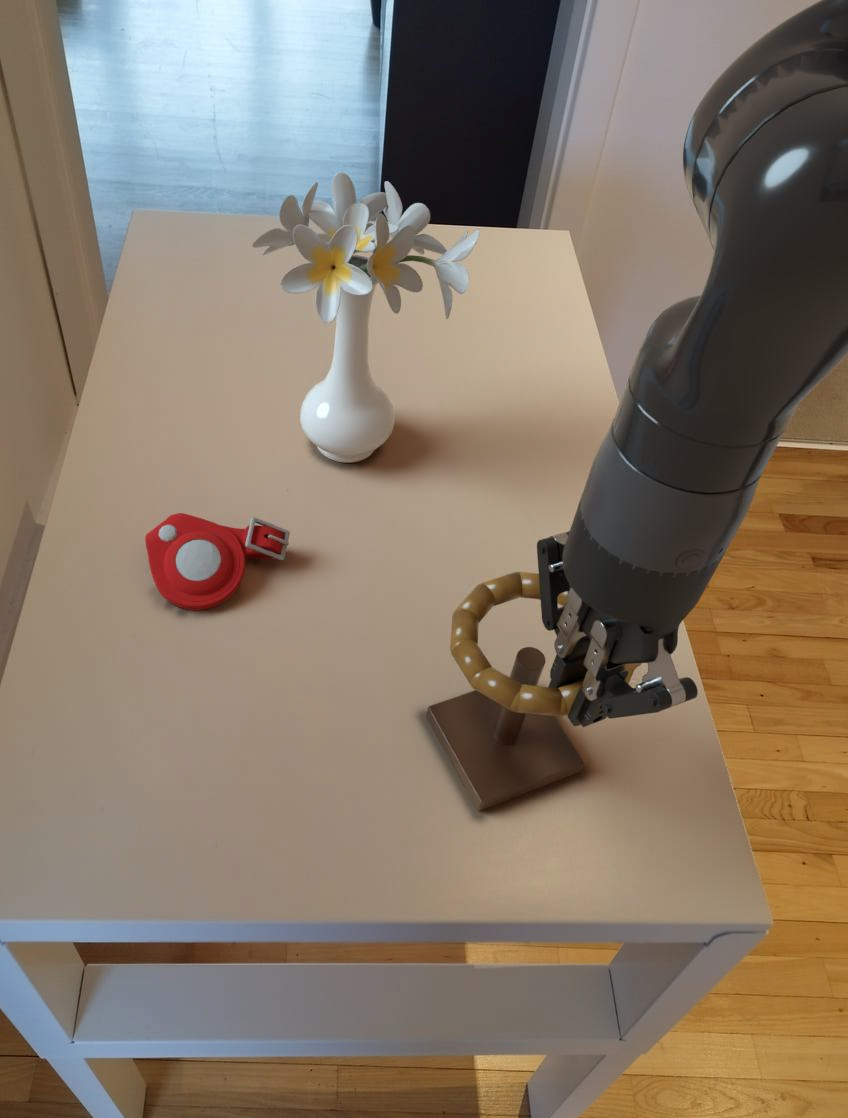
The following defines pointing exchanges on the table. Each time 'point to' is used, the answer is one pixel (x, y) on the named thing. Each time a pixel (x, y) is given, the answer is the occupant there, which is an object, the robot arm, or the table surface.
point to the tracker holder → (207, 557)
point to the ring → (480, 668)
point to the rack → (503, 741)
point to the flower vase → (357, 300)
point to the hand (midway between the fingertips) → (573, 702)
